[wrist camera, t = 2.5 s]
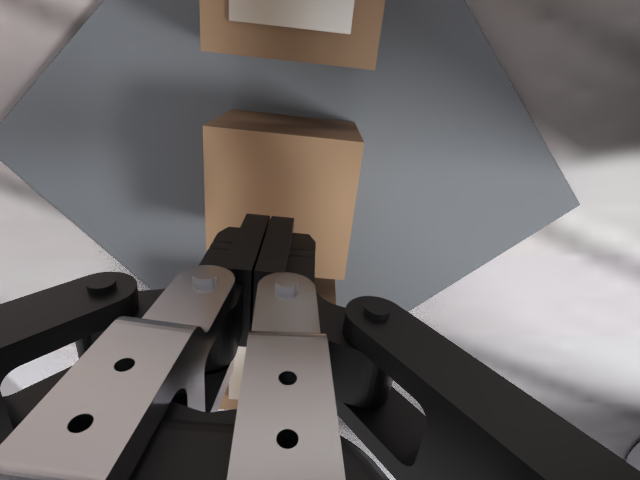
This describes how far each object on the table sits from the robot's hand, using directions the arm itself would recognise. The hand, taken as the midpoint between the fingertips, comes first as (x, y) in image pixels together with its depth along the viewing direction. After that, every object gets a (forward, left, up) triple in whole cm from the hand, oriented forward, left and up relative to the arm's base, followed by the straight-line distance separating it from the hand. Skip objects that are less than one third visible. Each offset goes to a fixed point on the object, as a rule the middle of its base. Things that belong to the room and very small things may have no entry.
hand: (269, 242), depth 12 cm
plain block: (0, 0, -9) cm, 9 cm away
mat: (0, 0, -9) cm, 9 cm away
